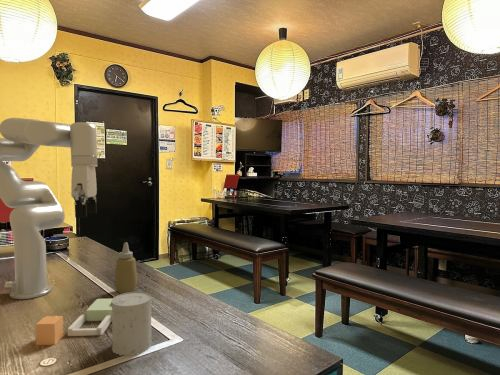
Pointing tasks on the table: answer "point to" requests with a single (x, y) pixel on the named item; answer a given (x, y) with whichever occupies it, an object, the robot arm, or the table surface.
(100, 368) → the table surface
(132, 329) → the speckled stone cylinder
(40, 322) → the matte orange cube
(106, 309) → the green plate with dome
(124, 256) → the squeeze bottle
